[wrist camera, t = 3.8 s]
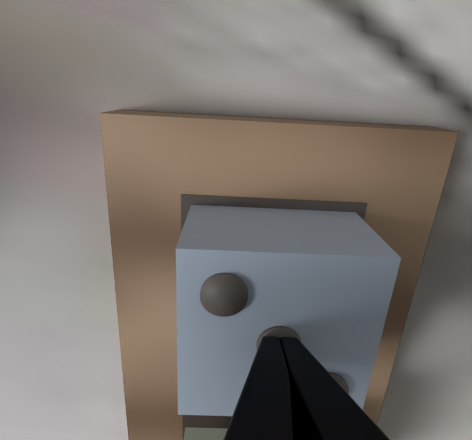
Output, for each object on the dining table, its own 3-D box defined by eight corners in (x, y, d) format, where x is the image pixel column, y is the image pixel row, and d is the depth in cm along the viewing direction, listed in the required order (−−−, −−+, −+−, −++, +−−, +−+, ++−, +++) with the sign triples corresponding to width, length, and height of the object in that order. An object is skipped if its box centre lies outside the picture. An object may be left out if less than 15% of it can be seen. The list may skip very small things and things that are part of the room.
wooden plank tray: (320, 564, 20) (327, 601, 19) (149, 562, 20) (142, 599, 18) (429, 126, 11) (459, 132, 10) (116, 109, 11) (99, 113, 9)
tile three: (330, 343, 12) (361, 424, 9) (190, 338, 12) (177, 419, 9) (355, 212, 10) (404, 260, 7) (191, 204, 10) (174, 251, 7)
